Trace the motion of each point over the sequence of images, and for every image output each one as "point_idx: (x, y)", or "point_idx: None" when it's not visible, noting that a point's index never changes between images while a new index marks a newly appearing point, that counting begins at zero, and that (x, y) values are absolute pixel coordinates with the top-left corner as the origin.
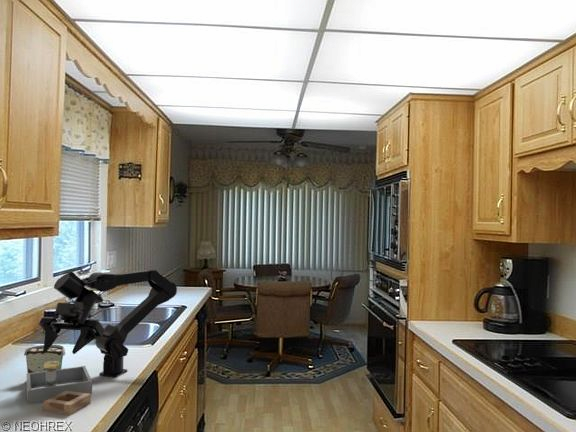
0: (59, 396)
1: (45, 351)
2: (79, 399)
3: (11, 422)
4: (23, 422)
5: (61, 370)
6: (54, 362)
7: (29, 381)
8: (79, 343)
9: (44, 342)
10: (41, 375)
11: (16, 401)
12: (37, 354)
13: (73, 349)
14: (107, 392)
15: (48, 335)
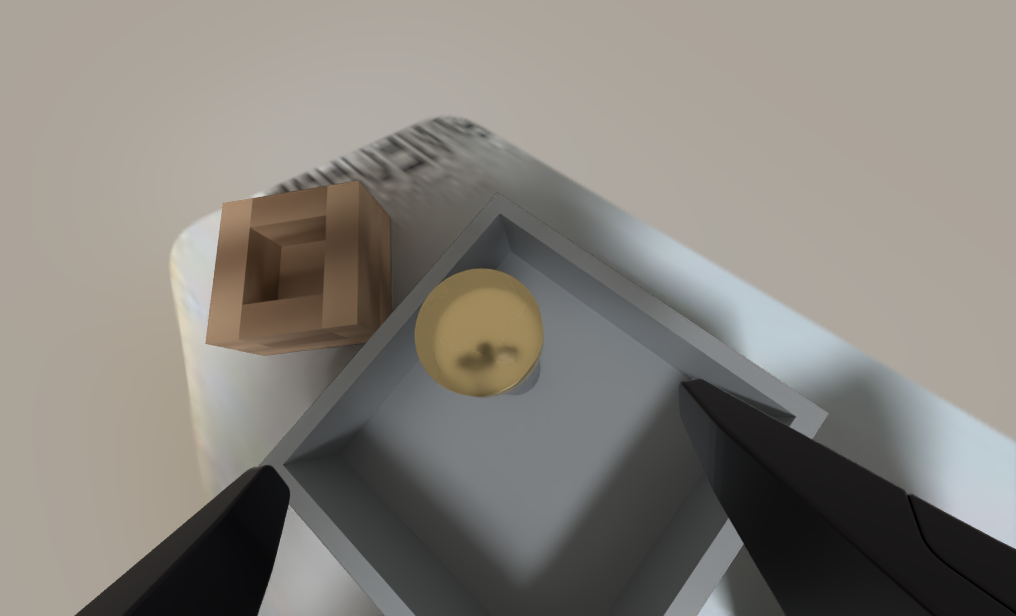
0: (331, 252)
1: (679, 406)
2: (217, 264)
3: (463, 140)
4: (423, 158)
5: (660, 611)
6: (463, 352)
7: (632, 297)
8: (96, 609)
9: (810, 441)
10: None
11: (648, 280)
12: None
13: (235, 490)
14: (305, 577)
15: (952, 607)
